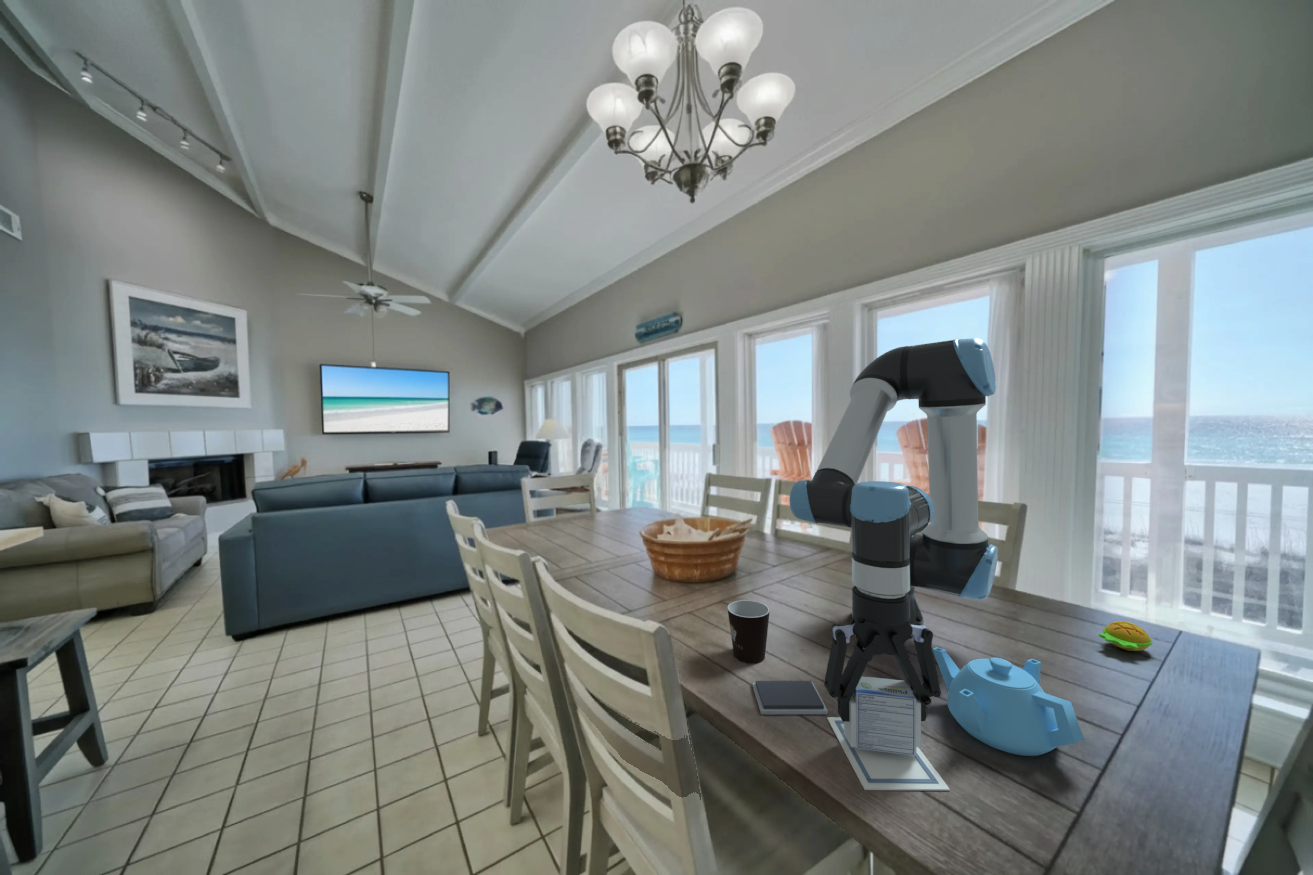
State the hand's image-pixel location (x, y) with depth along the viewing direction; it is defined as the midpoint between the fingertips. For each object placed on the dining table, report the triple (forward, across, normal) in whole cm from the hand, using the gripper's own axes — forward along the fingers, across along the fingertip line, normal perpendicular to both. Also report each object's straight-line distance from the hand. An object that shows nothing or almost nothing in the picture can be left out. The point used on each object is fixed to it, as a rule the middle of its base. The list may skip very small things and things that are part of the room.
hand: (881, 740), depth 64 cm
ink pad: (+2, +10, -12) cm, 16 cm away
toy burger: (+2, -62, -28) cm, 68 cm away
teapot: (+2, -20, -5) cm, 21 cm away
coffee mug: (+2, +15, -28) cm, 32 cm away
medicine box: (+1, 0, 0) cm, 1 cm away
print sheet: (+1, 0, 0) cm, 1 cm away
